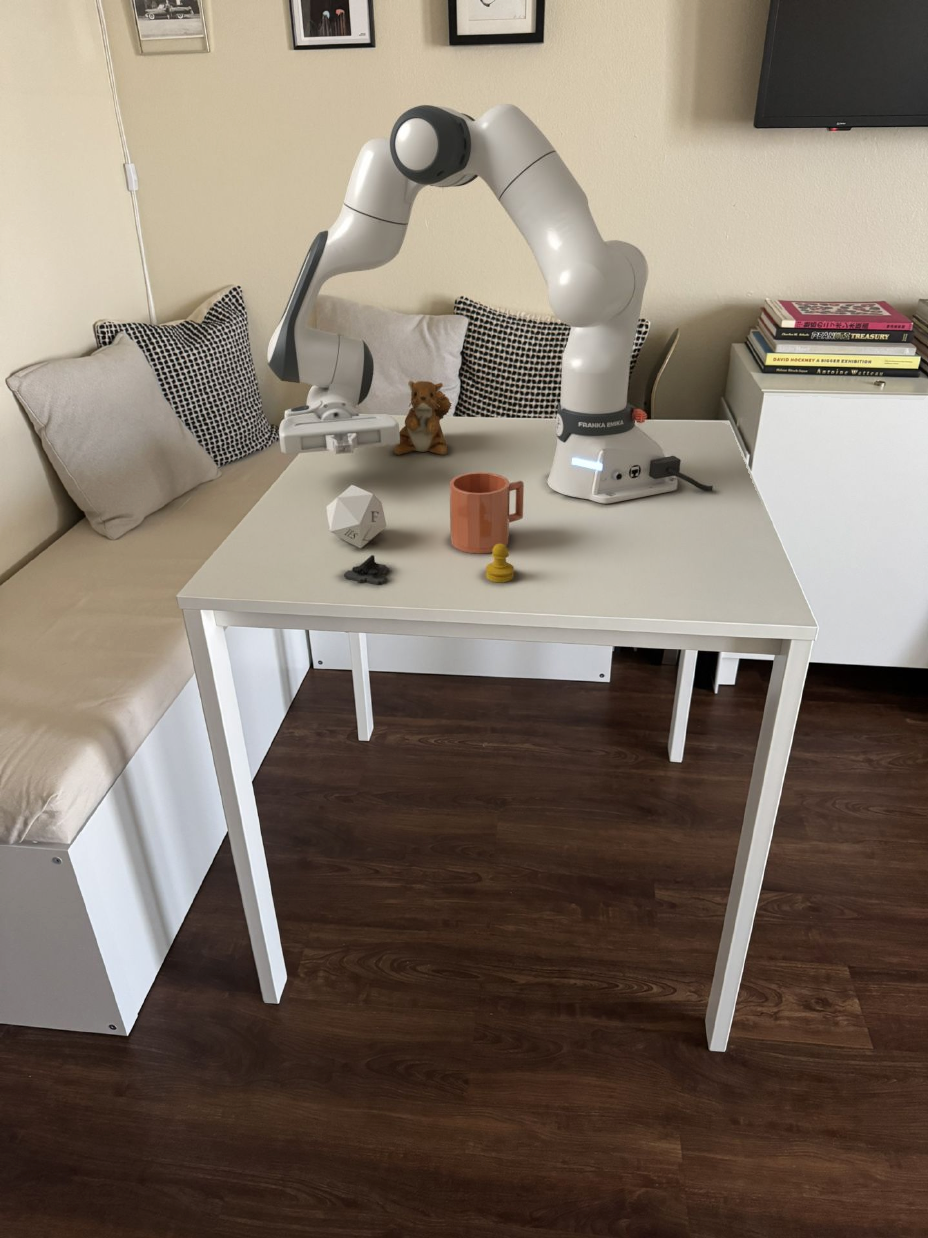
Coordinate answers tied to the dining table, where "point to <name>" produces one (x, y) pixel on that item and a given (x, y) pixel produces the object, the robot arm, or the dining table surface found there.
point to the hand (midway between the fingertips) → (344, 448)
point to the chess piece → (499, 565)
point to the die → (356, 516)
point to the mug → (482, 511)
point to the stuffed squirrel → (424, 420)
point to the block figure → (368, 572)
